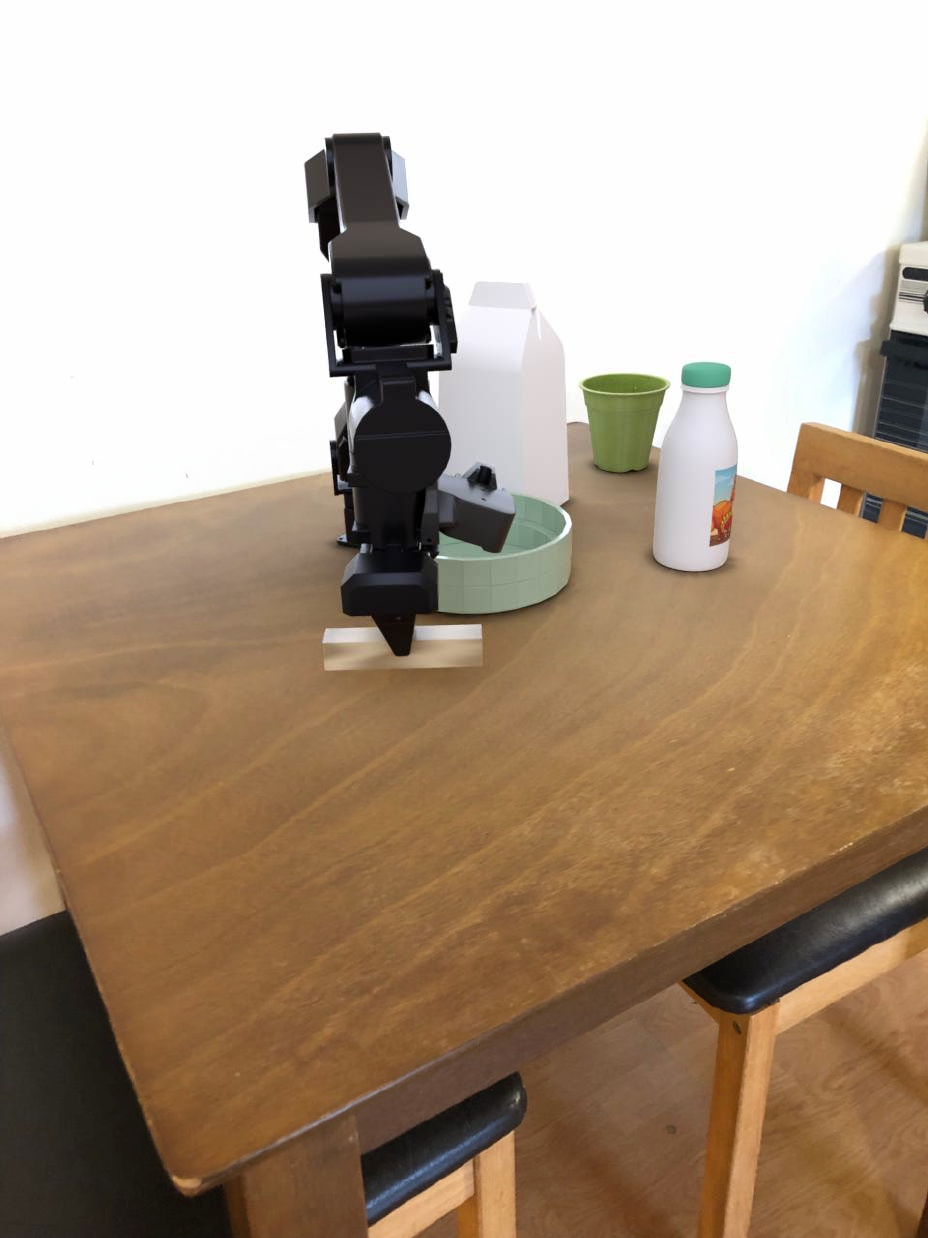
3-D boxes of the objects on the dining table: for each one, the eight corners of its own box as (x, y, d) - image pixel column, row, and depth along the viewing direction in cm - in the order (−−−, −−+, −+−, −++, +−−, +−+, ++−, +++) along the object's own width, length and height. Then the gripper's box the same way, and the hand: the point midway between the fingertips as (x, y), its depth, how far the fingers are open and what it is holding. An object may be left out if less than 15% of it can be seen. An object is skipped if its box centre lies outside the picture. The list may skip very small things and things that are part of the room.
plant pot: (575, 452, 133) (578, 372, 128) (660, 453, 131) (666, 372, 126) (576, 478, 122) (579, 392, 117) (668, 479, 121) (675, 392, 116)
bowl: (442, 530, 107) (440, 480, 104) (598, 559, 98) (601, 505, 96) (343, 595, 92) (338, 538, 89) (517, 635, 83) (517, 574, 81)
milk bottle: (684, 579, 93) (701, 377, 84) (637, 553, 99) (649, 363, 90) (743, 563, 96) (766, 367, 87) (694, 539, 103) (711, 354, 94)
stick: (324, 671, 71) (321, 643, 69) (328, 655, 73) (325, 628, 72) (482, 666, 71) (482, 638, 69) (481, 651, 73) (481, 624, 72)
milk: (436, 512, 112) (427, 284, 101) (485, 484, 121) (481, 272, 109) (524, 529, 107) (525, 290, 95) (568, 499, 115) (574, 276, 104)
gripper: (516, 488, 56) (516, 710, 63) (501, 409, 72) (503, 592, 79) (330, 493, 56) (351, 714, 63) (358, 413, 72) (372, 595, 79)
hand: (403, 646), depth 71 cm, fingers closed on stick, 2 cm apart
